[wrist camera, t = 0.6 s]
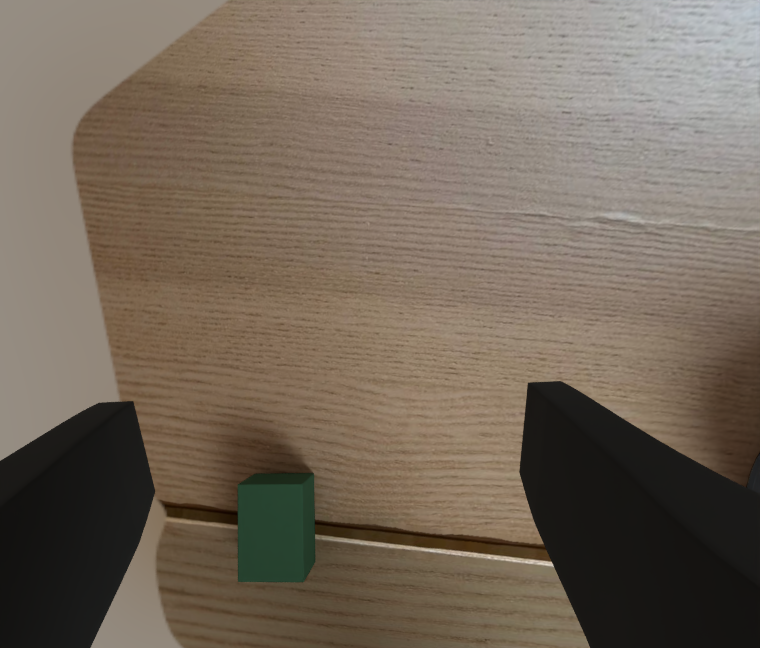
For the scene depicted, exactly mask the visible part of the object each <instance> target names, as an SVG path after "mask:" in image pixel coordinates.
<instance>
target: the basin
mask: <svg viewBox="0 0 760 648" xmlns="http://www.w3.org/2000/svg"><path fill="white" fill-rule="evenodd" d="M747 488H748V489H751V490H753V491H755V492H757V493H759V494H760V453H759V455H758V457H757V458H756V461H755V463H754V465H753V468H752V470H751V473H750V477H749V480H748V484H747Z"/></svg>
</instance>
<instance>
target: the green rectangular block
mask: <svg viewBox="0 0 760 648" xmlns="http://www.w3.org/2000/svg"><path fill="white" fill-rule="evenodd" d="M314 563H315V509H314V473H271V474H254V475H252V476H251V477H249V478H248V479H246V480H244V481H243V482H241V483H239V484H238V582H304V581H305V579H306V577H307V575H308V574H309V572H310V570H311V568H312V567H313V565H314Z"/></svg>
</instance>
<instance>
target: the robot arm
mask: <svg viewBox="0 0 760 648" xmlns="http://www.w3.org/2000/svg"><path fill="white" fill-rule="evenodd" d="M520 476H521V479H522V483H523V486H524V490H525V493H526V497H527V500H528V504H529V507H530V510H531V513H532V516H533V519H534V522H535V524H536V527H537V529H538V531H539V534H540V536H541V538H542V541H543V543H544V545H545V547H546V550H547V552H548V554H549V556H550V559H551V561H552V563H553V565H554V567H555V570H556V572H557V574H558V576H559V579H560V581H561V583H562V585H563V587H564V590H565V592H566V594H567V596H568V598H569V601H570V603H571V605H572V607H573V609H574V612H575V614H576V616H577V618H578V621H579V623H580V625H581V627H582V629H583V632H584V634H585V636H586V638H587V641H588V643H589V646H590V648H760V494H759V493H757V492H755V491H753V490H751V489H748V488H746V487H744V486H742V485H740V484H738V483H736V482H734V481H732V480H730V479H728V478H726V477H724V476H722V475H720V474H718V473H716V472H714V471H712V470H710V469H709V468H707V467H705V466H703V465H701V464H699V463H698V462H696V461H694V460H692V459H690V458H688V457H687V456H685V455H683V454H681V453H679V452H677V451H676V450H674V449H672V448H671V447H669V446H667V445H665V444H664V443H662V442H660V441H659V440H657V439H655V438H654V437H652V436H650V435H648V434H647V433H645V432H644V431H642V430H640V429H639V428H637V427H635V426H634V425H632V424H630V423H629V422H627V421H626V420H624V419H622V418H621V417H619V416H618V415H616V414H615V413H613V412H611V411H610V410H608V409H607V408H605V407H603V406H602V405H600V404H599V403H597V402H596V401H594V400H592V399H591V398H589V397H588V396H586V395H584V394H583V393H581V392H579V391H578V390H576V389H574V388H573V387H571V386H569V385H567V384H565V383H563V382H561V381H554V382H533V383H528V388H527V399H526V409H525V420H524V430H523V441H522V451H521V461H520ZM154 494H155V488H154V484H153V480H152V476H151V472H150V468H149V464H148V460H147V456H146V452H145V447H144V443H143V439H142V435H141V431H140V427H139V423H138V419H137V415H136V411H135V406H134V402H133V401H127V402H107V403H98V404H96V405H94V406H92V407H89V408H87V409H86V410H84V411H82V412H80V413H78V414H77V415H75V416H73V417H71V418H70V419H68V420H66V421H65V422H63V423H61V424H60V425H58V426H56V427H55V428H53V429H51V430H50V431H48V432H47V433H45V434H43V435H42V436H40V437H39V438H37V439H35V440H34V441H32V442H30V443H29V444H27V445H25V446H24V447H22V448H21V449H19V450H17V451H16V452H14V453H12V454H11V455H9V456H8V457H6V458H4V459H3V460H1V461H0V648H90V647H91V645H92V643H93V641H94V639H95V637H96V634H97V632H98V630H99V628H100V626H101V624H102V622H103V620H104V617H105V615H106V613H107V611H108V609H109V607H110V605H111V603H112V601H113V598H114V596H115V594H116V592H117V590H118V588H119V586H120V584H121V582H122V579H123V577H124V575H125V573H126V571H127V569H128V566H129V564H130V562H131V560H132V558H133V556H134V553H135V551H136V549H137V547H138V544H139V542H140V539H141V536H142V533H143V530H144V527H145V524H146V521H147V517H148V514H149V511H150V507H151V504H152V500H153V497H154Z"/></svg>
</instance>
